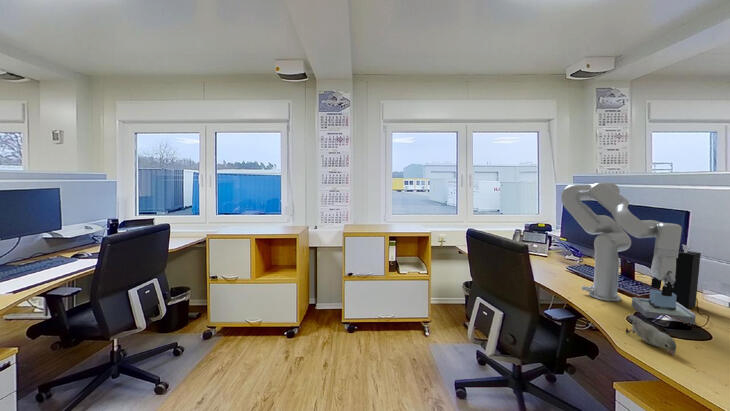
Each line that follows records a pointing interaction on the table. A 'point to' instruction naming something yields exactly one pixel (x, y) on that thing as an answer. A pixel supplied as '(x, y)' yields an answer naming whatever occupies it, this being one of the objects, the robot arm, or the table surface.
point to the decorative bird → (652, 335)
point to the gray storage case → (662, 300)
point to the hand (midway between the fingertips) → (660, 291)
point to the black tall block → (686, 277)
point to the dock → (663, 310)
